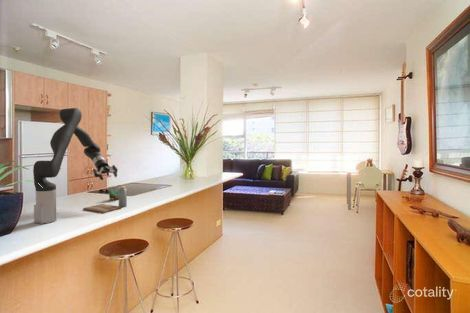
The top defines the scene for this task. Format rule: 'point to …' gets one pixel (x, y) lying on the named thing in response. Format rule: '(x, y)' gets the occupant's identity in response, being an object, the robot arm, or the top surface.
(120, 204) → the slate bottle
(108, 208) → the walnut board
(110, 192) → the food container
